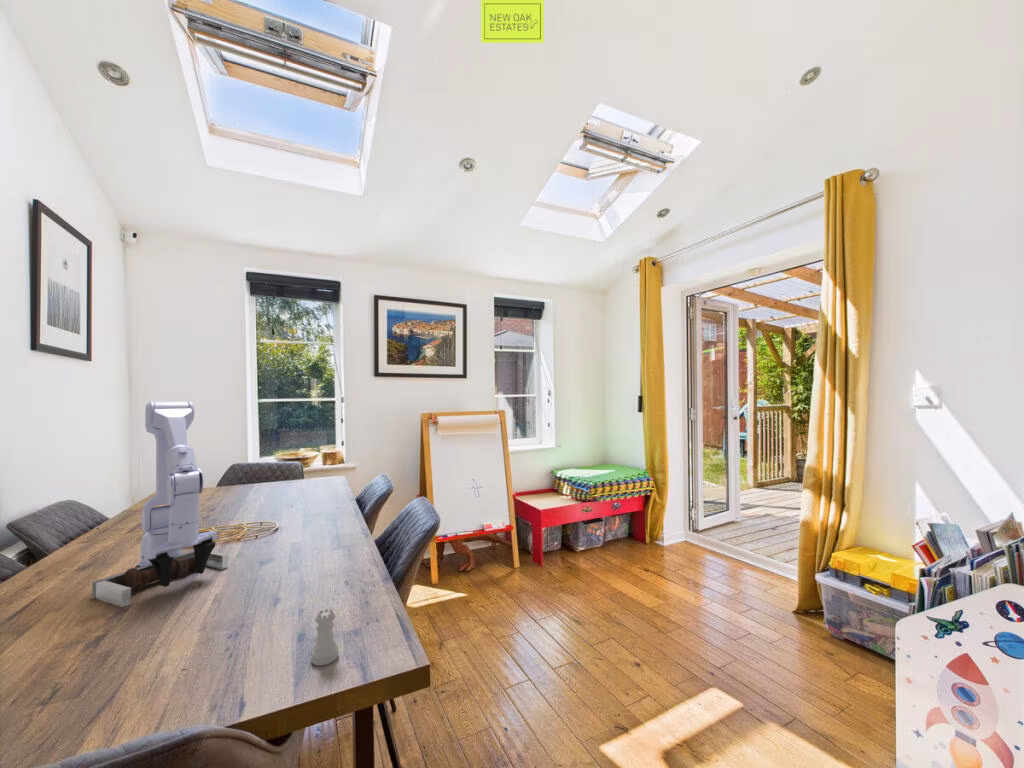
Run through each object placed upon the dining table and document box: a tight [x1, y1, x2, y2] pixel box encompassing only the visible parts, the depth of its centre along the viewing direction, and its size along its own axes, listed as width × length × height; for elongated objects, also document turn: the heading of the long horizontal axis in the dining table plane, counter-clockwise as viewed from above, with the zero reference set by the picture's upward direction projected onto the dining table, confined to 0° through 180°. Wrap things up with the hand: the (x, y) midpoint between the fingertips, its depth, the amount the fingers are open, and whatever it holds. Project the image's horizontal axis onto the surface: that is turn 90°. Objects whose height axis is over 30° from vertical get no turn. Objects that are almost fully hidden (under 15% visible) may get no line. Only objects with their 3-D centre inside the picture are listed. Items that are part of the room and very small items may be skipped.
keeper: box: [91, 549, 229, 608], centre depth 104 cm, size 12×23×4 cm, turn 158°
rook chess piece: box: [310, 608, 339, 667], centre depth 74 cm, size 4×4×8 cm
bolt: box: [123, 557, 195, 594], centre depth 105 cm, size 6×5×15 cm
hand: (182, 578), depth 102 cm, fingers open, 7 cm apart
